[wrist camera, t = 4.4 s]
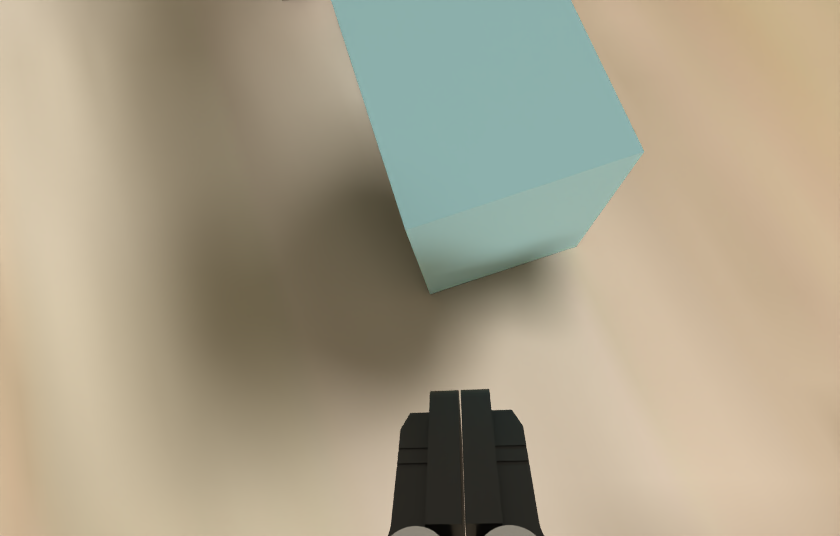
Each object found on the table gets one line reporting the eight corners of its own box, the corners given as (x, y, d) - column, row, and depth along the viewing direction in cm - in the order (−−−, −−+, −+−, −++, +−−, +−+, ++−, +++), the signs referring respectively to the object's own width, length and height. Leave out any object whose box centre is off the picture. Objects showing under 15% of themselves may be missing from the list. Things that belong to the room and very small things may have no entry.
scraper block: (430, 295, 20) (405, 230, 12) (339, 15, 23) (275, -171, 16) (575, 247, 20) (644, 151, 12) (461, -26, 23) (458, -233, 16)
